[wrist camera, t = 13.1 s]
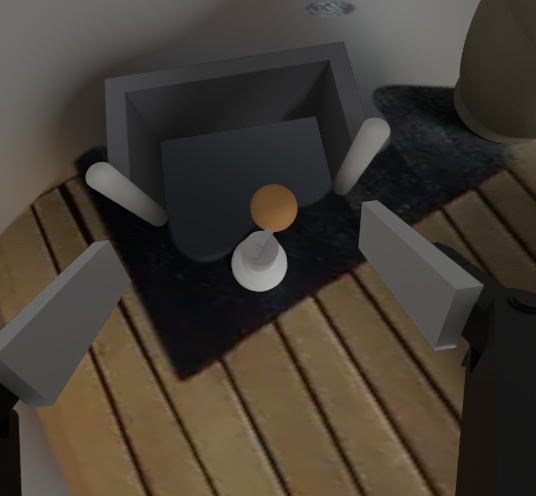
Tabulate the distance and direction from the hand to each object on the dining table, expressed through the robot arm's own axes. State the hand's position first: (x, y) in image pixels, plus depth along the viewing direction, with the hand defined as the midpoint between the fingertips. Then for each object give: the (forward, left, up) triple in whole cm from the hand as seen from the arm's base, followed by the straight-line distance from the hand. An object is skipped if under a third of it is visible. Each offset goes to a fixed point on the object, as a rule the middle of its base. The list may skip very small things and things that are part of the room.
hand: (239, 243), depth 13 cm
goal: (-3, -10, -9) cm, 14 cm away
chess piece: (-1, 0, -9) cm, 9 cm away
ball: (-4, -4, -7) cm, 9 cm away
